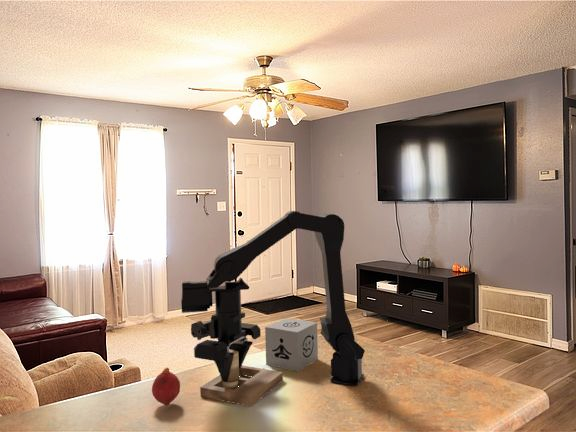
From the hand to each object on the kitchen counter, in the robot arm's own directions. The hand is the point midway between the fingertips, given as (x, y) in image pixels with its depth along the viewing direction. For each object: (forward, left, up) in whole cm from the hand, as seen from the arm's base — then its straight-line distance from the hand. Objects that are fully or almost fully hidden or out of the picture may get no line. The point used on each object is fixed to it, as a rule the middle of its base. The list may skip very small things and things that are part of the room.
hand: (230, 377), depth 104 cm
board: (-1, -3, -3) cm, 5 cm away
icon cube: (-5, -23, -4) cm, 23 cm away
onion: (+9, +11, -3) cm, 15 cm away
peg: (0, 0, -2) cm, 2 cm away
